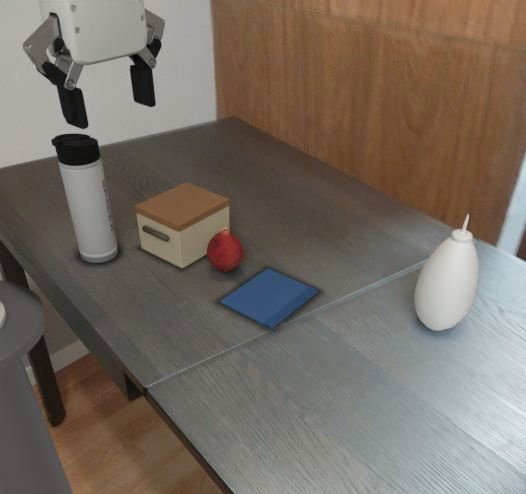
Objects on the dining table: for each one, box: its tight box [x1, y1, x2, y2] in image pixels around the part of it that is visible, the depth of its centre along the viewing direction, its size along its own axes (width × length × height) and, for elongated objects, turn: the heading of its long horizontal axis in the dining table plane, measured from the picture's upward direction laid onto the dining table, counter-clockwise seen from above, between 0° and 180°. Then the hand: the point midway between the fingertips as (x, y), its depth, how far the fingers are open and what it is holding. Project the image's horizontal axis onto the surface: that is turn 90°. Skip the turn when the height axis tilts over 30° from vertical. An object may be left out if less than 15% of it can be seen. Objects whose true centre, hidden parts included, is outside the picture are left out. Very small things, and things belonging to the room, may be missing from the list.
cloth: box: [219, 267, 319, 330], centre depth 83 cm, size 12×10×1 cm
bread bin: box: [134, 181, 231, 269], centre depth 91 cm, size 13×10×8 cm
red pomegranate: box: [206, 227, 244, 273], centre depth 85 cm, size 6×6×8 cm
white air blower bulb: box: [413, 213, 480, 332], centre depth 73 cm, size 8×8×18 cm
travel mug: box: [50, 133, 119, 264], centre depth 85 cm, size 6×7×20 cm
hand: (112, 114), depth 61 cm, fingers open, 9 cm apart
